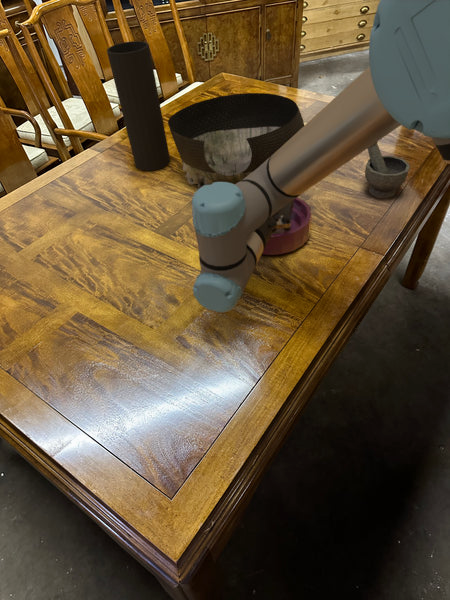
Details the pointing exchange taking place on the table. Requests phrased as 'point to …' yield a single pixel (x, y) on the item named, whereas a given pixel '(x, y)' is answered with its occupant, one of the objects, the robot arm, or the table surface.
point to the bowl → (292, 231)
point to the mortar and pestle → (384, 173)
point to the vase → (139, 103)
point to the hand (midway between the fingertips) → (280, 177)
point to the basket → (232, 135)
